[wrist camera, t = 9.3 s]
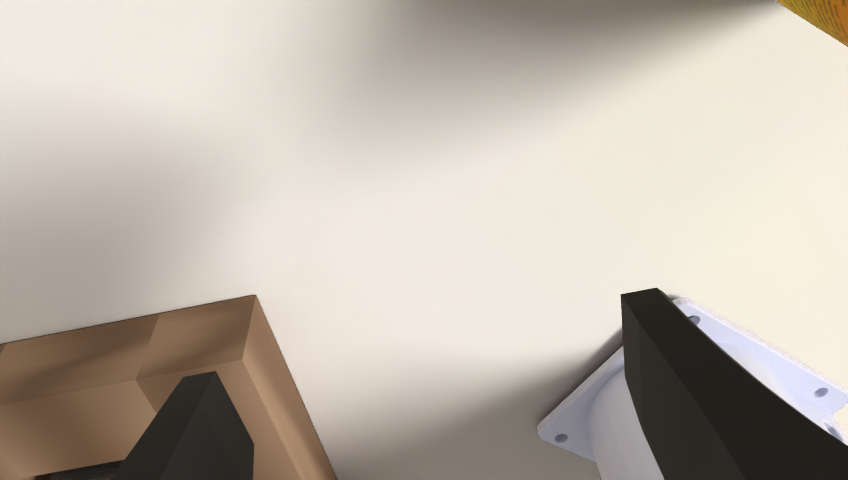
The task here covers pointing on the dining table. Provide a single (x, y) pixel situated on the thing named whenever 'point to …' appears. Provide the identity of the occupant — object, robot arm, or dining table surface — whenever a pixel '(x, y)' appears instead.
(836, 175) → the dining table surface
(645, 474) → the robot arm
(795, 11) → the supplement bottle
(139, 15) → the dining table surface
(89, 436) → the holder
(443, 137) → the dining table surface
